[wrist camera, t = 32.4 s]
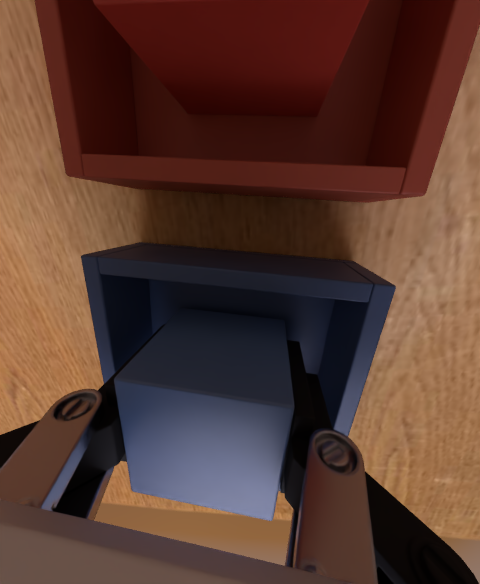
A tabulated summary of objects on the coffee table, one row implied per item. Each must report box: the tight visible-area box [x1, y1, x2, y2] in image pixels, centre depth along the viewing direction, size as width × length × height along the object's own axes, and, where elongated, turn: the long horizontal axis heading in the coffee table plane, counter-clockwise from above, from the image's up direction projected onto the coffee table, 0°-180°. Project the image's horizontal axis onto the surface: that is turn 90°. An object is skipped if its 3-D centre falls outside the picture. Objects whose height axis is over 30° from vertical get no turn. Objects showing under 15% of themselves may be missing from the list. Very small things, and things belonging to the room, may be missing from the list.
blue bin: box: [81, 242, 396, 491], centre depth 10 cm, size 10×10×4 cm
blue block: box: [114, 308, 295, 521], centre depth 8 cm, size 5×5×5 cm
